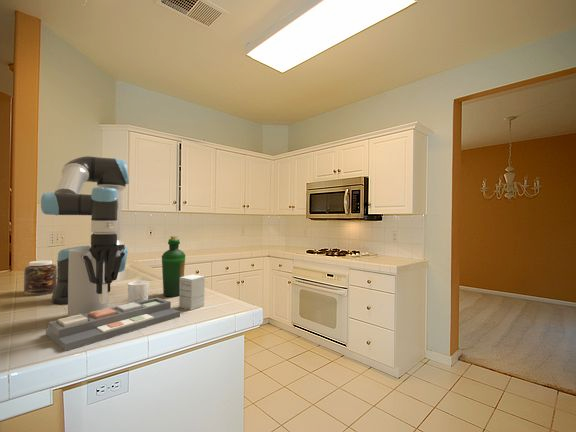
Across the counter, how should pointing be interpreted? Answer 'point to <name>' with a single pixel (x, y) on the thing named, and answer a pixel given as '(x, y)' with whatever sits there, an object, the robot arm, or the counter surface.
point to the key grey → (128, 307)
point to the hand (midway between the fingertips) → (103, 302)
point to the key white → (72, 320)
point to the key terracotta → (102, 313)
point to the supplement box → (191, 292)
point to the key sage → (151, 303)
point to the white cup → (138, 291)
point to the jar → (40, 278)
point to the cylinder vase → (82, 285)
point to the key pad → (110, 324)
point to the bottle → (172, 268)
